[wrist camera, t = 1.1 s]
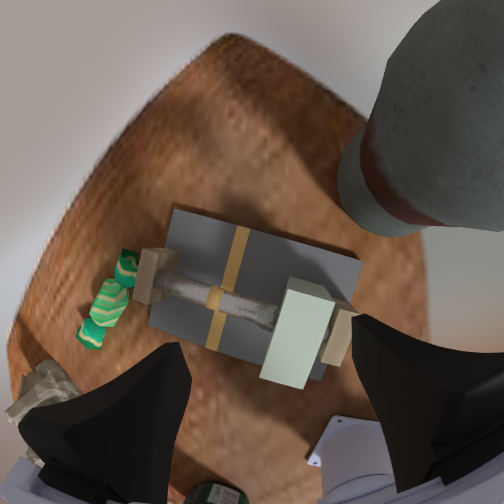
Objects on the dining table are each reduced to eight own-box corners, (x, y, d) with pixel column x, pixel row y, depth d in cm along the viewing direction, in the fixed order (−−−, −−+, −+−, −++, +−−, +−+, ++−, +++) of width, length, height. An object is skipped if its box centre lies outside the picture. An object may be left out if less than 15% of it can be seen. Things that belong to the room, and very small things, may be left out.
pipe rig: (360, 260, 25) (378, 265, 19) (319, 376, 25) (324, 406, 20) (178, 209, 27) (151, 202, 21) (152, 322, 28) (124, 337, 22)
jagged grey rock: (52, 347, 30) (-24, 386, 16) (125, 437, 30) (68, 501, 15) (28, 382, 34) (-27, 414, 19) (86, 453, 33) (40, 498, 18)
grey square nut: (323, 285, 23) (335, 302, 16) (301, 352, 23) (302, 389, 17) (289, 275, 23) (287, 289, 17) (268, 343, 24) (259, 377, 17)
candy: (124, 243, 27) (119, 260, 24) (150, 260, 29) (149, 278, 25) (80, 321, 29) (73, 343, 25) (103, 334, 30) (100, 356, 27)
